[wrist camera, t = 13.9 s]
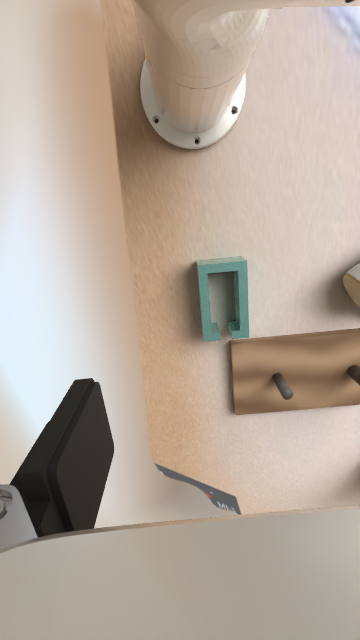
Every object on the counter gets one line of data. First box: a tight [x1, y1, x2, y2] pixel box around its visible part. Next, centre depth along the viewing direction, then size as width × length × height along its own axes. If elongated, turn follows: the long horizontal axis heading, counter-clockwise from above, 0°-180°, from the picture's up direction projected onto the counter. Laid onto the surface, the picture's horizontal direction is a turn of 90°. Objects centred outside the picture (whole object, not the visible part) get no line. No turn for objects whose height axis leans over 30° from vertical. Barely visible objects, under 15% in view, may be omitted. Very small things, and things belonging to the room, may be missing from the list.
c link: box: [196, 256, 249, 342], centre depth 44 cm, size 11×6×4 cm, turn 6°
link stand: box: [230, 328, 360, 415], centre depth 42 cm, size 13×22×16 cm, turn 96°
